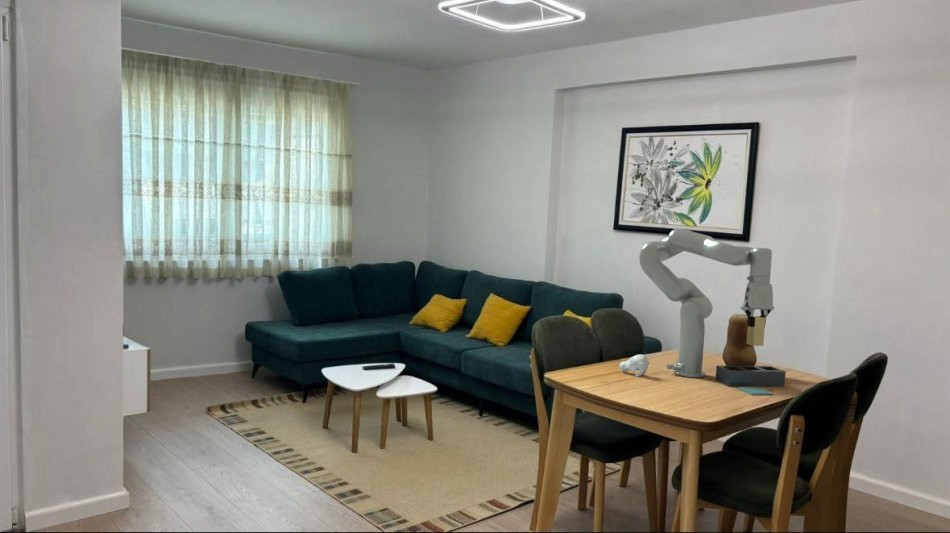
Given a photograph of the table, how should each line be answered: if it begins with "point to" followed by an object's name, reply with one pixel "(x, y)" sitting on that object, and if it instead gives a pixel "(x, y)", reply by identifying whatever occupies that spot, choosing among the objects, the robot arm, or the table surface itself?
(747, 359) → the butternut squash
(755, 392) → the teal rubber mat
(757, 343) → the tan rectangular block
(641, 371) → the white animal figurine
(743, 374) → the graphite rack rail
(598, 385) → the table surface
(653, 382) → the table surface
